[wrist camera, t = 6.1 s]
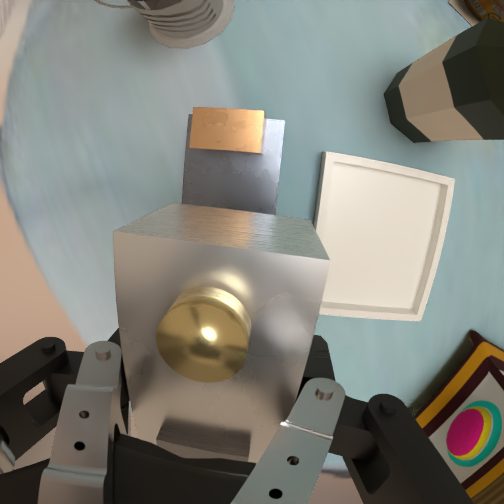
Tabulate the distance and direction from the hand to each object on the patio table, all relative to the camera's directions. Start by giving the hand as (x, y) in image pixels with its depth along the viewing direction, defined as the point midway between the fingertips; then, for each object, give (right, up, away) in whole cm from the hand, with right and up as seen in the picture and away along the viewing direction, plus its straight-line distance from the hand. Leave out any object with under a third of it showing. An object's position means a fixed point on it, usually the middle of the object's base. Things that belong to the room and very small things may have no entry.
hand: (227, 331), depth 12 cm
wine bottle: (+18, +19, +13) cm, 29 cm away
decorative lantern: (+35, -18, +23) cm, 46 cm away
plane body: (-1, +6, +19) cm, 20 cm away
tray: (+14, +5, +18) cm, 23 cm away
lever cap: (0, 0, 0) cm, 0 cm away
